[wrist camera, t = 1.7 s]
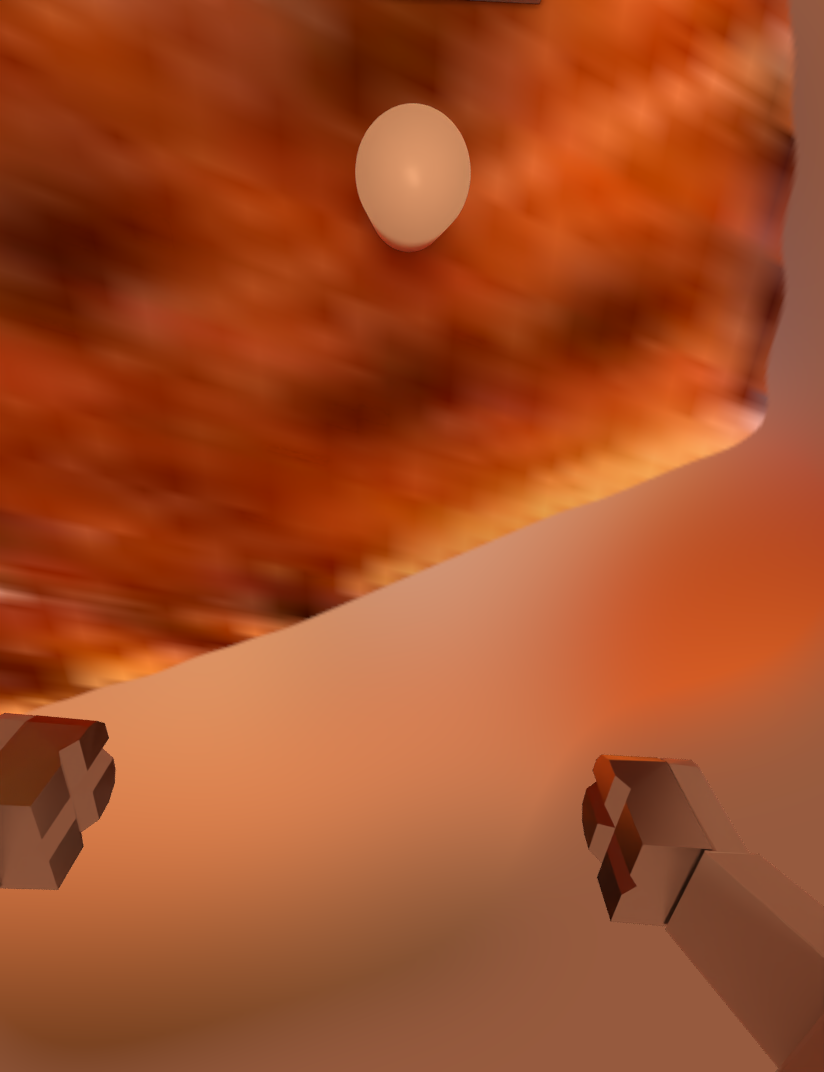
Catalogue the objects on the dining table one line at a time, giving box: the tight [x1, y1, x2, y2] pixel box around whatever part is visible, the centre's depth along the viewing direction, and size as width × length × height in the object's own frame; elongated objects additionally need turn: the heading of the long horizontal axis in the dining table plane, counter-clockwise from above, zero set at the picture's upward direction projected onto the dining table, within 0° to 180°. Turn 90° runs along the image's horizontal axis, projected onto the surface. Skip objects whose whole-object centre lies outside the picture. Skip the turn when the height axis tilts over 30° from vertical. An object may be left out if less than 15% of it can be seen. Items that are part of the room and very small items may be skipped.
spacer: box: [355, 103, 471, 252], centre depth 29 cm, size 5×5×12 cm
